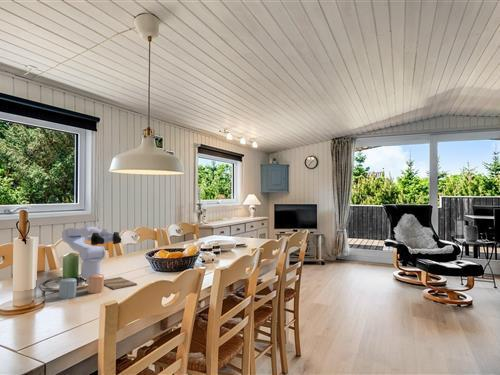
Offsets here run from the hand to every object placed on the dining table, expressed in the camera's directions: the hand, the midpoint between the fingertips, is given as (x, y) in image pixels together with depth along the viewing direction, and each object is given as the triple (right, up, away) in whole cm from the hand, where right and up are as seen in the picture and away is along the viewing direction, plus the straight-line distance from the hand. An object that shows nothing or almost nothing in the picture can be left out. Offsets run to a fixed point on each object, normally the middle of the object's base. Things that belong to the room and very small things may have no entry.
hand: (111, 241), depth 140 cm
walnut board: (0, -21, +6) cm, 22 cm away
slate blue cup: (-11, -20, -15) cm, 27 cm away
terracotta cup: (-4, -20, -6) cm, 22 cm away
